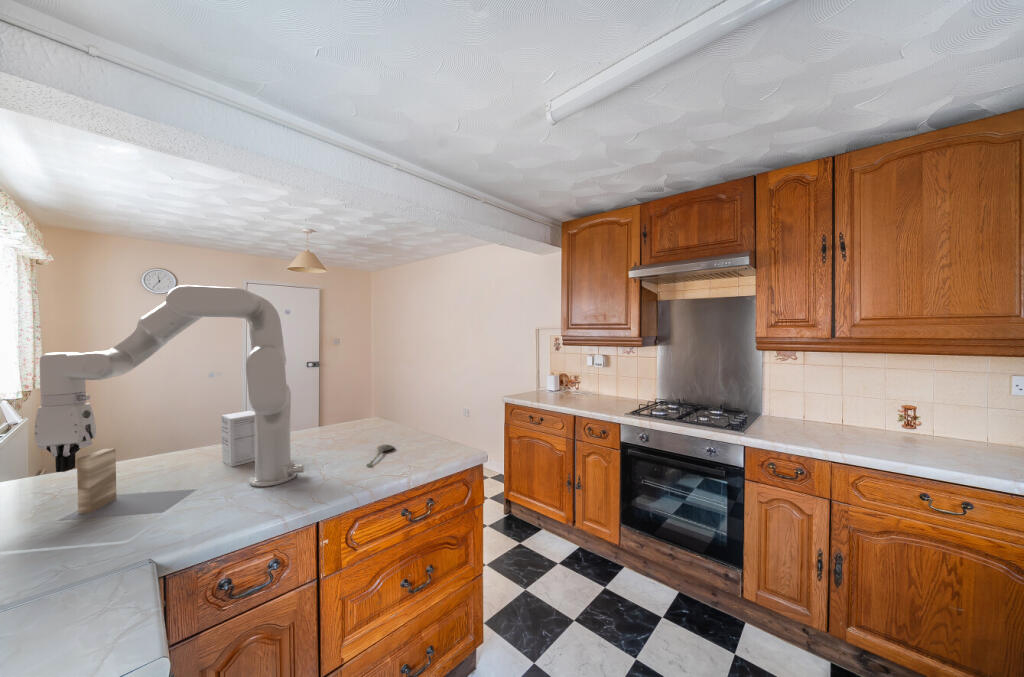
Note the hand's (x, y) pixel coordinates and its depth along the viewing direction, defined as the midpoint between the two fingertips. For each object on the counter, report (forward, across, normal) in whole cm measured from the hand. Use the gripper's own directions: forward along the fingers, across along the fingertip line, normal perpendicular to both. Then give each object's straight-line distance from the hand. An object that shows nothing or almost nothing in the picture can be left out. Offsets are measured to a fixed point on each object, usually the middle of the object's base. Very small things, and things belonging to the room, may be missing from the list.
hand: (65, 470), depth 97 cm
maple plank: (+10, -7, 0) cm, 12 cm away
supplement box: (+11, -26, -32) cm, 43 cm away
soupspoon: (+11, -74, -28) cm, 80 cm away
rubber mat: (+10, -15, 0) cm, 18 cm away
